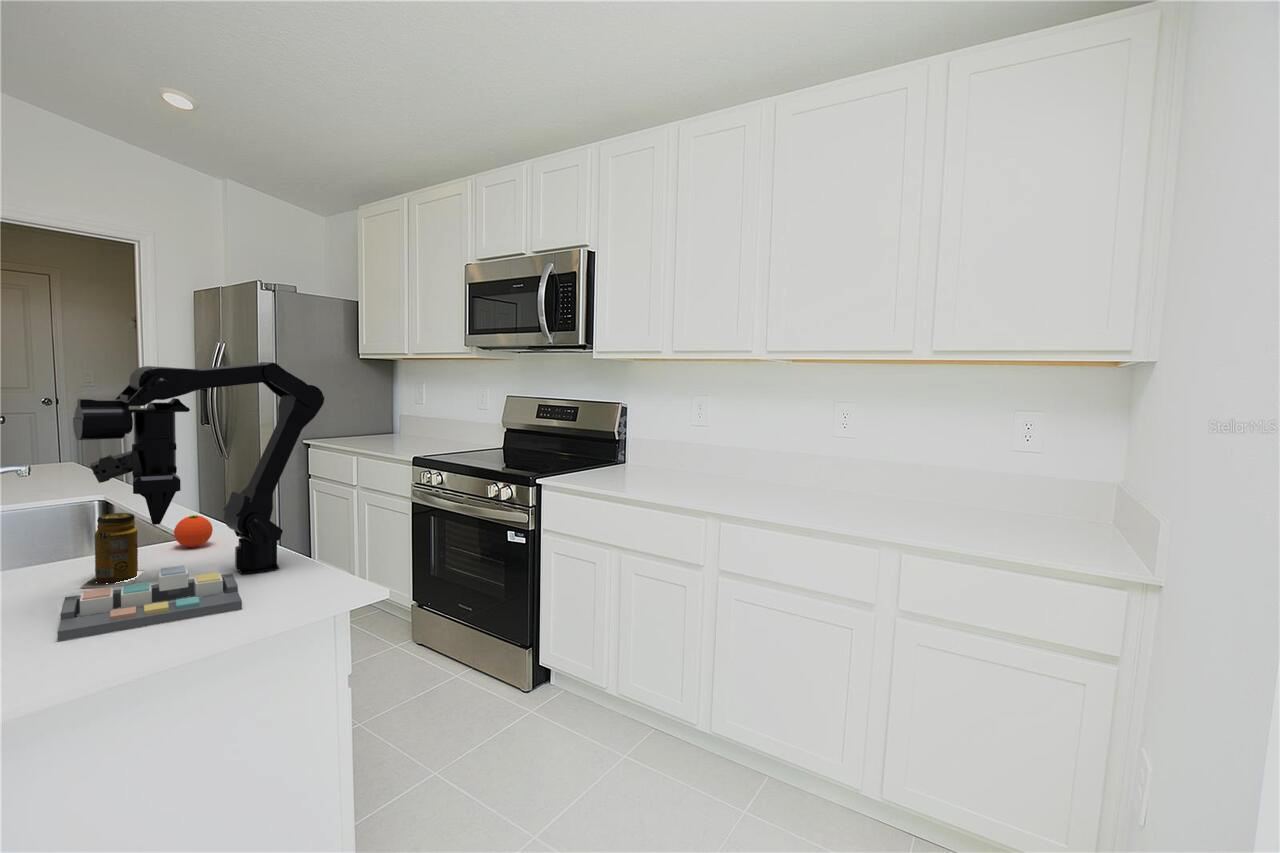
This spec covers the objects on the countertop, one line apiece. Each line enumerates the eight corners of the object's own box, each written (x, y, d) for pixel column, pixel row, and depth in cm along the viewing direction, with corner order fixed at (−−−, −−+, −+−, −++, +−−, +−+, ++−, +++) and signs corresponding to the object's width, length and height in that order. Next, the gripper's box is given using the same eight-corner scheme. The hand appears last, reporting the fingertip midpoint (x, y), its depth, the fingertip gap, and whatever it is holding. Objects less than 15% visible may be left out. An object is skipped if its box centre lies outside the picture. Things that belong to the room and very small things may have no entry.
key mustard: (220, 593, 108) (220, 571, 107) (222, 600, 104) (222, 578, 104) (193, 597, 105) (193, 575, 105) (195, 605, 102) (195, 582, 101)
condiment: (145, 570, 117) (145, 510, 116) (131, 585, 109) (130, 520, 109) (97, 574, 114) (96, 512, 113) (79, 589, 106) (78, 523, 105)
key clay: (113, 610, 98) (113, 586, 98) (112, 619, 95) (112, 594, 95) (82, 615, 96) (81, 590, 96) (80, 624, 93) (79, 599, 92)
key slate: (186, 586, 104) (186, 564, 104) (188, 594, 101) (188, 571, 101) (158, 590, 102) (158, 568, 102) (159, 599, 99) (159, 575, 98)
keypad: (232, 586, 111) (232, 573, 111) (241, 609, 101) (241, 594, 101) (65, 612, 97) (65, 597, 96) (57, 641, 87) (57, 624, 87)
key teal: (151, 604, 101) (150, 581, 101) (151, 612, 98) (151, 588, 98) (121, 608, 99) (121, 585, 99) (121, 617, 96) (120, 593, 95)
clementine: (173, 543, 135) (173, 512, 134) (211, 539, 139) (211, 509, 138) (174, 552, 128) (173, 520, 128) (213, 548, 133) (213, 517, 132)
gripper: (96, 433, 108) (98, 518, 109) (90, 445, 93) (92, 542, 95) (174, 431, 115) (175, 511, 116) (180, 442, 101) (181, 533, 102)
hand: (156, 524), depth 107 cm, fingers closed
